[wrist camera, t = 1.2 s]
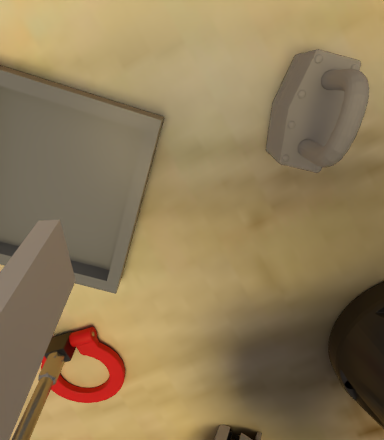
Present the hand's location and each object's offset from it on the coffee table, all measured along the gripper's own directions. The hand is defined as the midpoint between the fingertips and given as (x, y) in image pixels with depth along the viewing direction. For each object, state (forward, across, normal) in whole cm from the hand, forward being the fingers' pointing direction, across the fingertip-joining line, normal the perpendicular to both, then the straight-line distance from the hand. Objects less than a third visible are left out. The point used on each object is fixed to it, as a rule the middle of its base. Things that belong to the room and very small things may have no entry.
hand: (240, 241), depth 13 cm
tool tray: (+16, +12, +4) cm, 20 cm away
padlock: (+16, -7, -1) cm, 18 cm away
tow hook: (+14, +14, +23) cm, 30 cm away
